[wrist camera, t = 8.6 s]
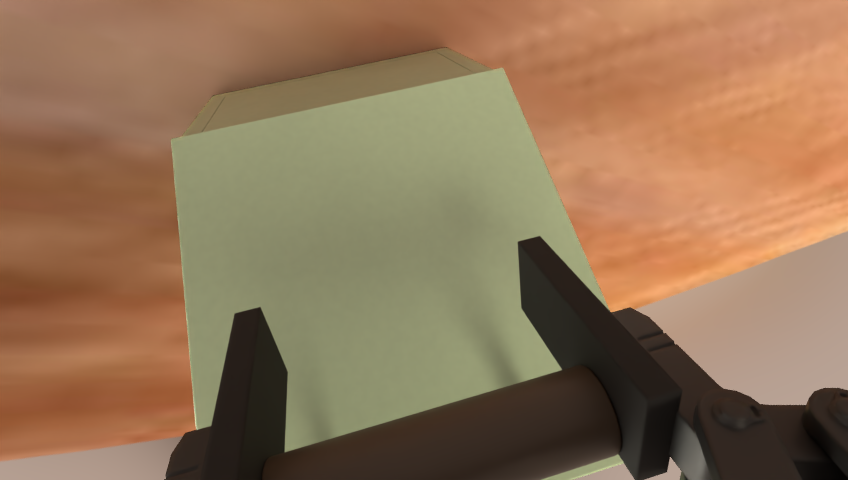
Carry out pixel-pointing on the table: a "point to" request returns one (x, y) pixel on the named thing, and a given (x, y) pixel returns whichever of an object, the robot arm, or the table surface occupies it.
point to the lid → (391, 286)
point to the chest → (332, 88)
